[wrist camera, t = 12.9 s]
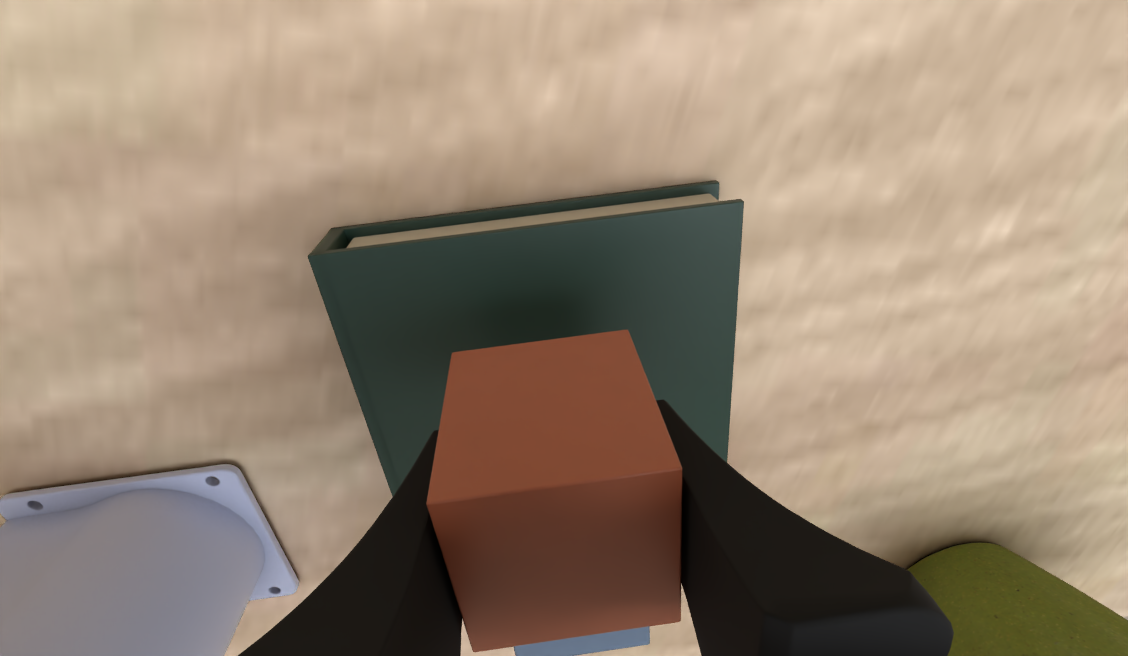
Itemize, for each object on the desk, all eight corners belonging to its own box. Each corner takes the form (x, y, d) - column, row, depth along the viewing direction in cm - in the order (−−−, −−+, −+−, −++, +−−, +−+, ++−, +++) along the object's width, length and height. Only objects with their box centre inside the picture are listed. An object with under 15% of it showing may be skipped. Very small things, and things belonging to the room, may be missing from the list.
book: (429, 535, 26) (422, 582, 23) (330, 228, 18) (307, 255, 16) (704, 496, 26) (722, 539, 24) (716, 180, 19) (744, 201, 16)
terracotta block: (482, 482, 16) (472, 653, 12) (451, 351, 14) (425, 504, 9) (634, 460, 16) (681, 623, 12) (628, 328, 14) (683, 467, 10)
